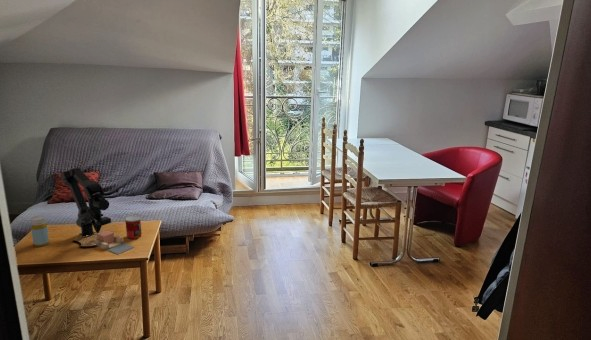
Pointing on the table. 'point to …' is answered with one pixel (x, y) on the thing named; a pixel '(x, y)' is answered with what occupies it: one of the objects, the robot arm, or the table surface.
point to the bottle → (39, 231)
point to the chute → (108, 246)
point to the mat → (120, 248)
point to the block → (106, 236)
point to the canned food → (133, 227)
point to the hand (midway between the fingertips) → (97, 232)
